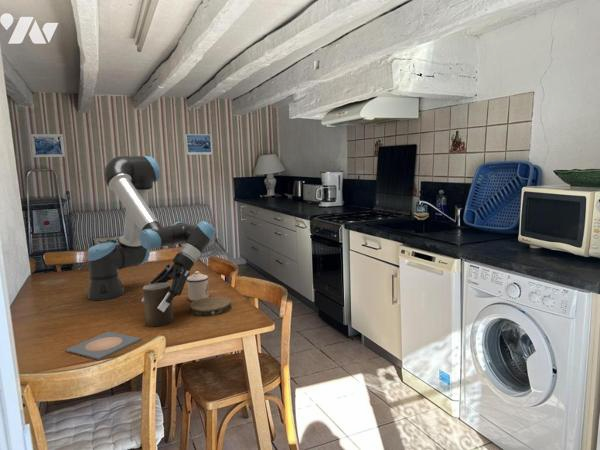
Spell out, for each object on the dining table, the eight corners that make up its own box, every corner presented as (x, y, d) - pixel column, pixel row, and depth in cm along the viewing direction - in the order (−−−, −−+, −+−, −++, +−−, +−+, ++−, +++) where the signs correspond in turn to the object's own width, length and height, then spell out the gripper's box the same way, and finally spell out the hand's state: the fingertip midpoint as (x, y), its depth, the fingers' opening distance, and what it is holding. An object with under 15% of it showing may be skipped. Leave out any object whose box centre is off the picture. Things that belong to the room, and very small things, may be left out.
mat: (65, 351, 135) (64, 349, 135) (108, 333, 149) (108, 331, 149) (98, 360, 128) (98, 358, 128) (141, 340, 142) (141, 338, 142)
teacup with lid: (211, 299, 183) (209, 272, 181) (189, 302, 180) (187, 275, 178) (207, 291, 194) (205, 266, 192) (186, 294, 191) (184, 269, 189)
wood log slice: (187, 307, 174) (186, 300, 173) (226, 301, 180) (225, 294, 180) (194, 320, 159) (193, 312, 159) (236, 312, 165) (235, 305, 165)
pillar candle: (168, 326, 153) (165, 285, 151) (141, 327, 153) (138, 286, 151) (177, 317, 163) (174, 278, 161) (151, 318, 163) (148, 279, 161)
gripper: (164, 248, 170) (130, 294, 162) (196, 255, 153) (160, 308, 145) (177, 259, 175) (145, 304, 167) (210, 267, 157) (176, 318, 149)
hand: (152, 306), depth 156 cm, fingers open, 12 cm apart
